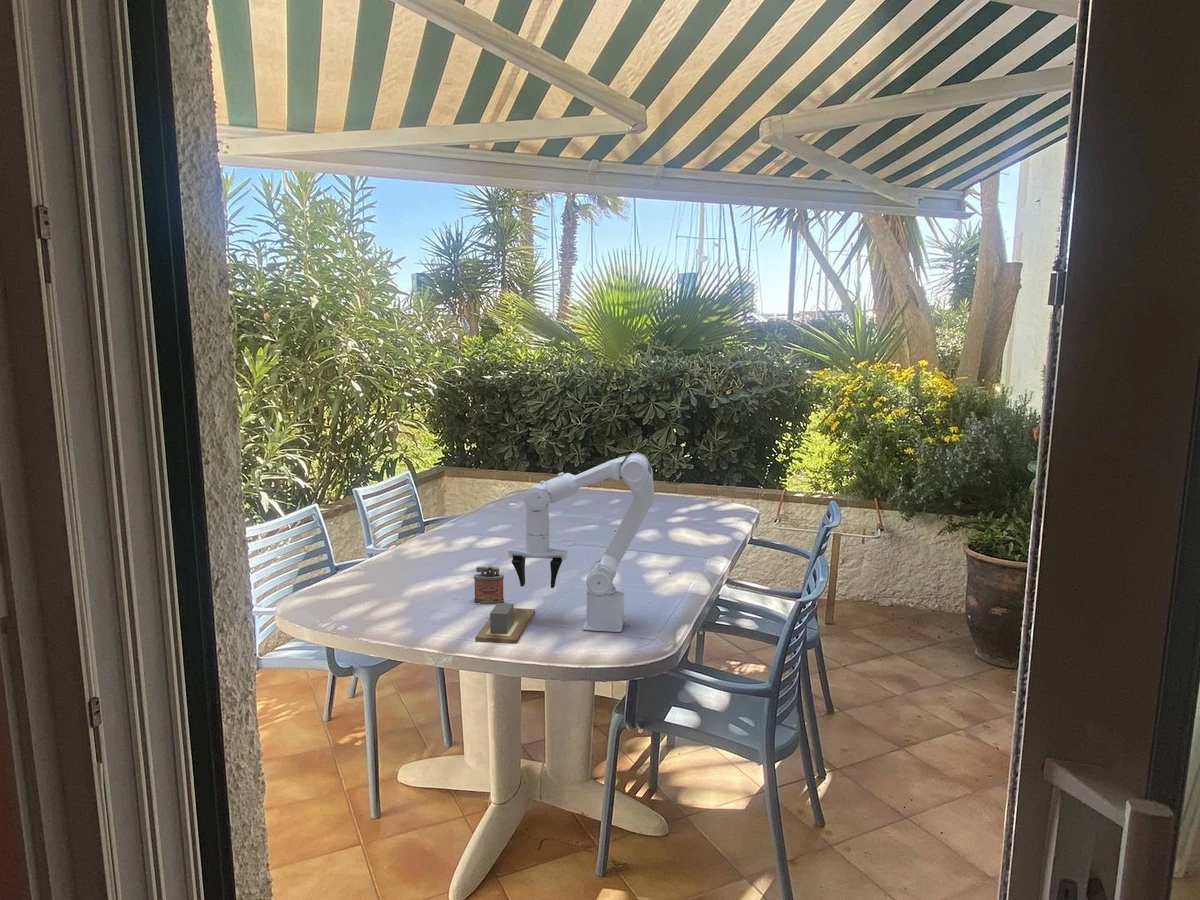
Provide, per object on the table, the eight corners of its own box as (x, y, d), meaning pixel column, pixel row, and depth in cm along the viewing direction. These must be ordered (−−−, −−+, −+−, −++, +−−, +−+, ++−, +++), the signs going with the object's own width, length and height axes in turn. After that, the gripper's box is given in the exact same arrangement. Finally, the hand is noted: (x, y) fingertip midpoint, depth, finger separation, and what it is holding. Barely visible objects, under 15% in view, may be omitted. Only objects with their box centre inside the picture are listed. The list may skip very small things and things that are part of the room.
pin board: (535, 612, 189) (535, 601, 189) (516, 643, 169) (516, 630, 169) (497, 610, 190) (497, 599, 190) (475, 641, 171) (475, 628, 170)
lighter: (504, 600, 198) (504, 564, 197) (503, 604, 195) (503, 568, 194) (475, 600, 198) (474, 564, 197) (473, 604, 195) (472, 568, 193)
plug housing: (513, 623, 179) (513, 603, 178) (506, 634, 172) (506, 613, 171) (497, 622, 179) (497, 602, 178) (490, 633, 172) (490, 613, 172)
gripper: (569, 530, 183) (569, 582, 185) (512, 527, 184) (513, 579, 186) (564, 537, 176) (564, 591, 178) (505, 534, 177) (506, 588, 179)
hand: (537, 585), depth 182 cm, fingers open, 7 cm apart
